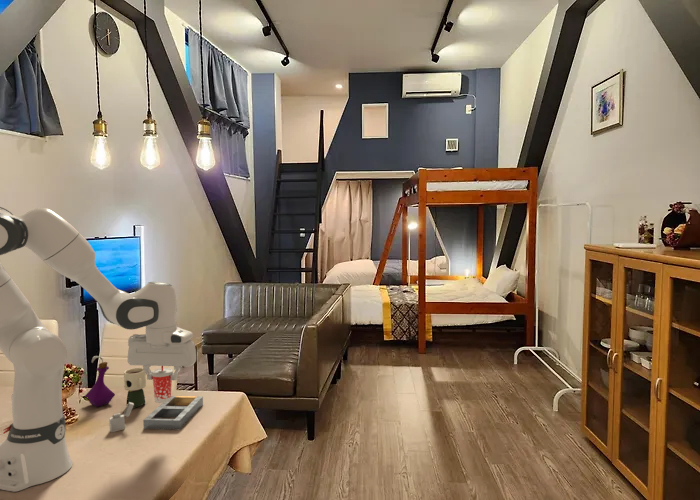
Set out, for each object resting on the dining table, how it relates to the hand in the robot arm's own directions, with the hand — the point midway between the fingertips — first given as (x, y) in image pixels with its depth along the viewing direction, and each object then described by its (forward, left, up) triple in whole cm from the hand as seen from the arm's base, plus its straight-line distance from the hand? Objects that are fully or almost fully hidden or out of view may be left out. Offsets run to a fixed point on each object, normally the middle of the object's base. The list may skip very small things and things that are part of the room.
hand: (162, 379), depth 143 cm
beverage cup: (0, 0, -7) cm, 7 cm away
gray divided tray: (-4, +16, -19) cm, 25 cm away
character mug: (-22, +24, -19) cm, 38 cm away
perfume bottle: (-36, +25, -19) cm, 48 cm away
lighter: (-17, +6, -19) cm, 26 cm away
